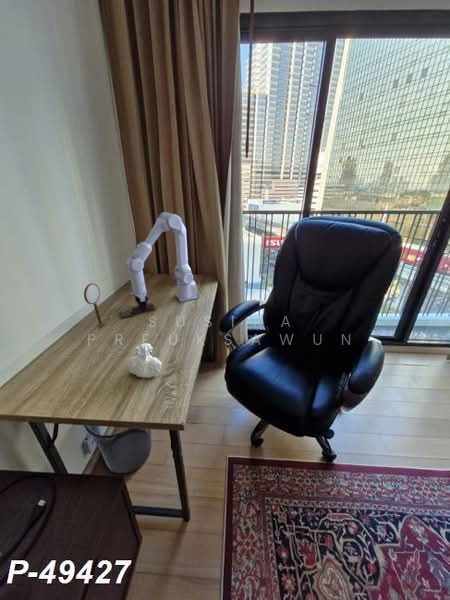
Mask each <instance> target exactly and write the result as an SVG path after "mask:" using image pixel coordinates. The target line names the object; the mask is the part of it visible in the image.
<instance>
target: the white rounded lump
mask: <svg viewBox="0 0 450 600" xmlns="http://www.w3.org/2000/svg"><path fill="white" fill-rule="evenodd" d="M153 348H154V347H153V346H152V345H151V343H148V342H143V343H141V344H139V345H138V346H135V347H134V349H136V351H137V352H136V353H137V355H135V356H132V357H130V358H129V359H128V360H127V370H128V371H129V373H131V374H133V375H135V376H136V377H138V378H147V379H150V378H152V377H153V378H154V377H158V376H160V373H161V371H162V367H163V363H162V361H161V360H160V359H158V358H157V357H156V356H155V357H154V356H152V355H151V354H150V353H153V350H154V349H153Z"/></svg>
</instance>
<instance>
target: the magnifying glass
mask: <svg viewBox="0 0 450 600" xmlns="http://www.w3.org/2000/svg"><path fill="white" fill-rule="evenodd" d="M100 295H101V291H100V288H99V286H98V285H97V284H96V283H89V284H87V285H86V287H85V288H84V291H83V298H84V301H85V303H87V304H88V305H93V308H94V311H95V314H96V318H97V322H98V324H99V326H100V327H101V326H102V325H103V321H102V317H101V313H100V311H99V307H98V304H97V303H98V301H99V299H100Z"/></svg>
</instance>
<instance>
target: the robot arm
mask: <svg viewBox="0 0 450 600" xmlns="http://www.w3.org/2000/svg"><path fill="white" fill-rule="evenodd" d="M182 220H183V219H182V218H181V217H180V216H179V215H178V214H175V213H170V212H167V211H163V212H160V214H159V215H158V217H157V218H156V220H155V223H154V225H153V227H152V228H151V230H150V232H149V234H148V235H147V237H146V238H145V240H144V241H141V242H140V243H138V244H137V245H136V249H135V250H134V252H133V253H131V254H130V257H128V258H127V259H126V262H125V266H126V267H127V269H128V272H129V277H130V283H131V287H132V291H131V292H130V295H131V296H133V297H134V300H135V303H137V304H138V305H139V307H140V309H141V311H146V304H147V303H148V300H149V297H148V296H146V295H147V293H148V292H147V289H146V288H147V287H146V282H145V277H144V271H143V269H144V267H145V261H146V260H147V259H148V257H149V255H150V254H151V252H152V251H153V249H152V247H153V245H154V243H156V241H157V240H158V238H159V237H160V236H161V235H162V233H164V232H168V231H170V230H171V231H172V232H173V233H174V240H175V241H174V243H175V253H176V265H175V266H174V272H173V276H174V278H175V279H176V283H177V284H176V285H177V294H176V297H177V299H178V300H179V302H186V301H191V300H195V299H198V294H197V293H198V291H197V284H196V281H195V280H194V275H193V272H192V269H191V266H190V265H189V257H188V256H189V255H188V241H187V239H188V238H187V228H186V226H185V225H184V223H183V221H182ZM146 312H147V311H146Z"/></svg>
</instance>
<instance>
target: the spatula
mask: <svg viewBox="0 0 450 600" xmlns="http://www.w3.org/2000/svg"><path fill="white" fill-rule="evenodd" d="M130 308H131V309H129V310H126V311H121V312H120V314H121V319H125V318H129V317H134V315H137V314H142V313H147V312H151V311H155V307H154V302H153V301H151V302H147V304H146V311H141V309H140V307H139V304H138V305H137V304H136V305H133V306H131V307H130Z"/></svg>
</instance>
